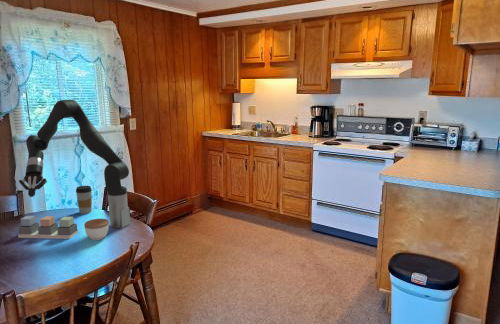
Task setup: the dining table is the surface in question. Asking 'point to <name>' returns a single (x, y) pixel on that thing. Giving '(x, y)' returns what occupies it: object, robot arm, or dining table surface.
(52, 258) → the dining table surface
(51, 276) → the dining table surface
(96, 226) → the lidded jar
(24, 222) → the slate key
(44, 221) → the terracotta key
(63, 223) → the sage key
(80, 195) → the coffee cup
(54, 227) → the keypad board
